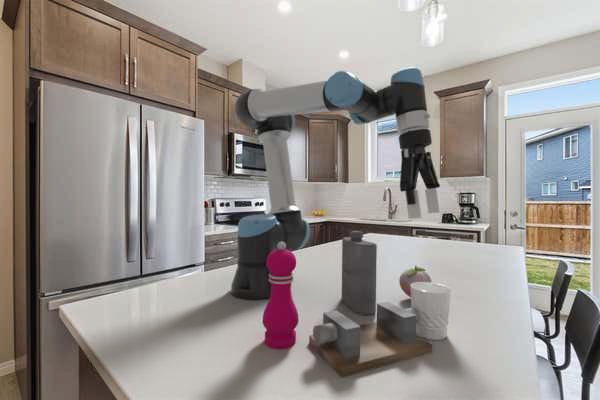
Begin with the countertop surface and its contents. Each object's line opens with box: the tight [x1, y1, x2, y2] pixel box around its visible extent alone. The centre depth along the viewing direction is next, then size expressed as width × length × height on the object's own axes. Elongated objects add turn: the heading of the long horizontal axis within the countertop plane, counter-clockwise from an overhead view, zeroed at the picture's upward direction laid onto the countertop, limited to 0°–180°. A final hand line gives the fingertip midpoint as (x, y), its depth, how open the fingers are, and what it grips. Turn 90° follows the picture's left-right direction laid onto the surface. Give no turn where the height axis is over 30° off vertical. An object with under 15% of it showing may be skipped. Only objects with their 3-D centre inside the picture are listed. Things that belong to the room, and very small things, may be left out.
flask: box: [341, 230, 378, 316], centre depth 79 cm, size 15×6×20 cm, turn 13°
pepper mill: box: [262, 242, 300, 349], centre depth 58 cm, size 7×7×20 cm
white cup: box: [410, 281, 451, 341], centre depth 63 cm, size 8×8×10 cm
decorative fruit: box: [398, 265, 432, 298], centre depth 84 cm, size 9×8×10 cm
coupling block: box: [308, 301, 433, 378], centre depth 56 cm, size 12×23×6 cm, turn 114°
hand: (425, 215), depth 73 cm, fingers open, 13 cm apart
